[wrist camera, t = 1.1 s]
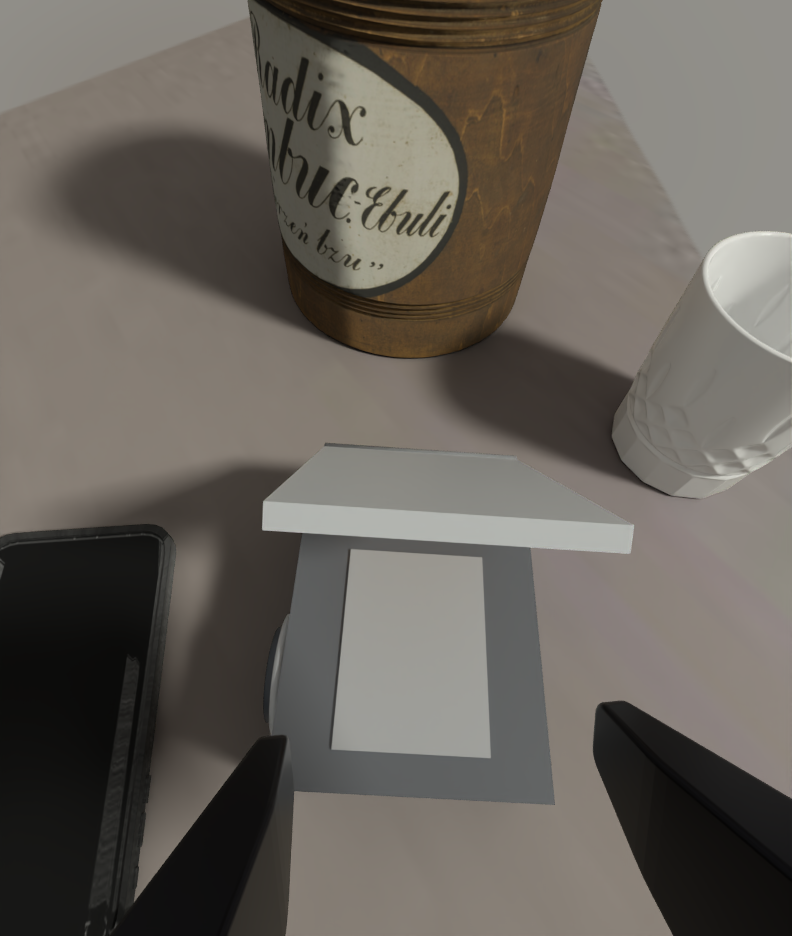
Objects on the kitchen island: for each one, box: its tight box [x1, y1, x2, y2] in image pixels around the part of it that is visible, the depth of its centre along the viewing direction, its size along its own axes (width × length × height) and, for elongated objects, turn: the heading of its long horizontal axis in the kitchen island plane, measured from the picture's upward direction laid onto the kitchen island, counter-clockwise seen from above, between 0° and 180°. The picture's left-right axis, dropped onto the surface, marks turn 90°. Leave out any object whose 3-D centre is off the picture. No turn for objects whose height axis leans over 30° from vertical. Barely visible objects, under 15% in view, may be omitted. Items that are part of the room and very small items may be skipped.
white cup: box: [612, 231, 792, 499], centre depth 23 cm, size 8×8×10 cm
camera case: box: [263, 533, 555, 805], centre depth 20 cm, size 11×9×5 cm
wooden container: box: [248, 0, 602, 358], centre depth 24 cm, size 15×15×22 cm
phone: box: [0, 524, 176, 936], centre depth 19 cm, size 8×1×15 cm
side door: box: [262, 443, 634, 554], centre depth 16 cm, size 10×8×1 cm
